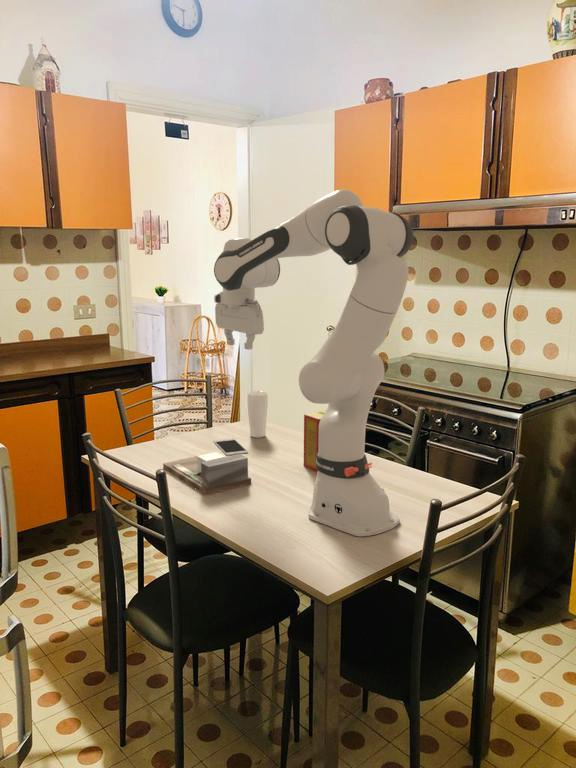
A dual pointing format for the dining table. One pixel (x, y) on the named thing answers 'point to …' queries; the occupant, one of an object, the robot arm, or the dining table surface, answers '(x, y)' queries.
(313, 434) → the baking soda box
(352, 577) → the dining table surface
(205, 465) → the grey stepped block
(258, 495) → the dining table surface
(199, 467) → the white rectangular block
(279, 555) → the dining table surface
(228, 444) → the smartphone
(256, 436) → the white travel tumbler
